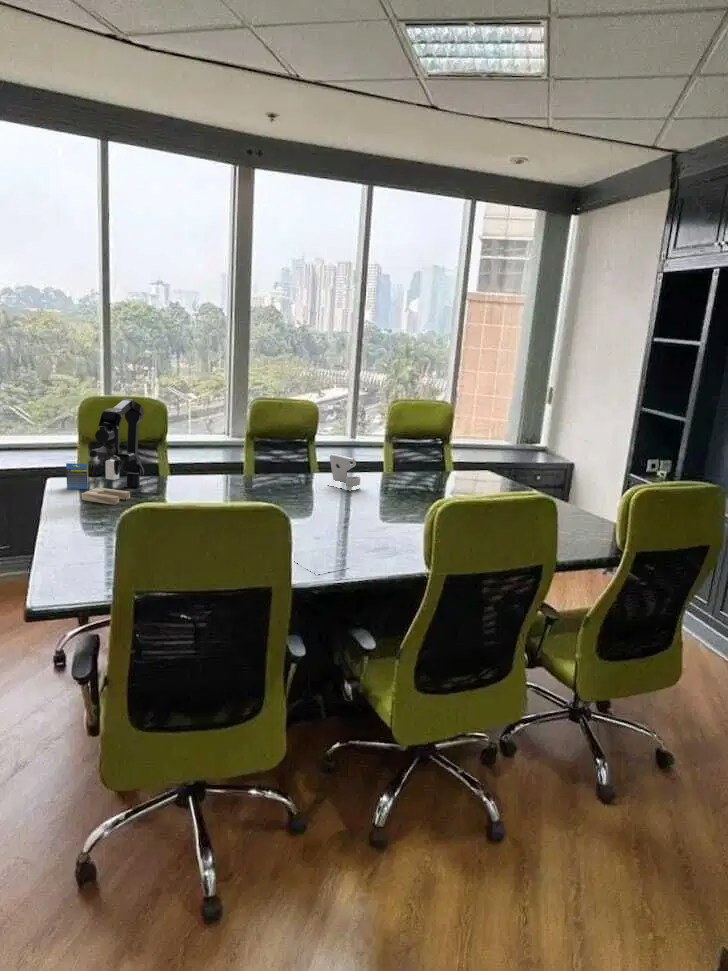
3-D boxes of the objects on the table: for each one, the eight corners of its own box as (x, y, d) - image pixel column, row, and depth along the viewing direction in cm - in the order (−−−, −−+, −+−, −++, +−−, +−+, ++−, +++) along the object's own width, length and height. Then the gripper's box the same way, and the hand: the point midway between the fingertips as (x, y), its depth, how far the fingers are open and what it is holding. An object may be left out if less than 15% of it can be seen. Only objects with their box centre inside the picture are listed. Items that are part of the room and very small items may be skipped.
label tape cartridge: (88, 487, 283) (88, 461, 280) (87, 489, 280) (87, 463, 277) (67, 487, 280) (67, 461, 277) (66, 489, 277) (65, 463, 274)
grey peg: (110, 476, 267) (110, 459, 265) (119, 478, 266) (119, 460, 264) (105, 478, 263) (105, 461, 261) (114, 479, 262) (113, 462, 260)
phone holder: (361, 489, 326) (364, 456, 322) (350, 491, 318) (353, 458, 314) (336, 482, 336) (338, 451, 331) (325, 485, 327) (327, 453, 323)
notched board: (98, 493, 274) (97, 487, 273) (130, 498, 272) (130, 491, 271) (81, 500, 263) (81, 493, 262) (115, 504, 260) (115, 498, 259)
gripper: (80, 439, 254) (81, 475, 258) (121, 444, 251) (121, 480, 255) (96, 435, 265) (97, 470, 268) (135, 440, 262) (135, 475, 266)
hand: (112, 473), depth 264 cm, fingers closed on grey peg, 4 cm apart
